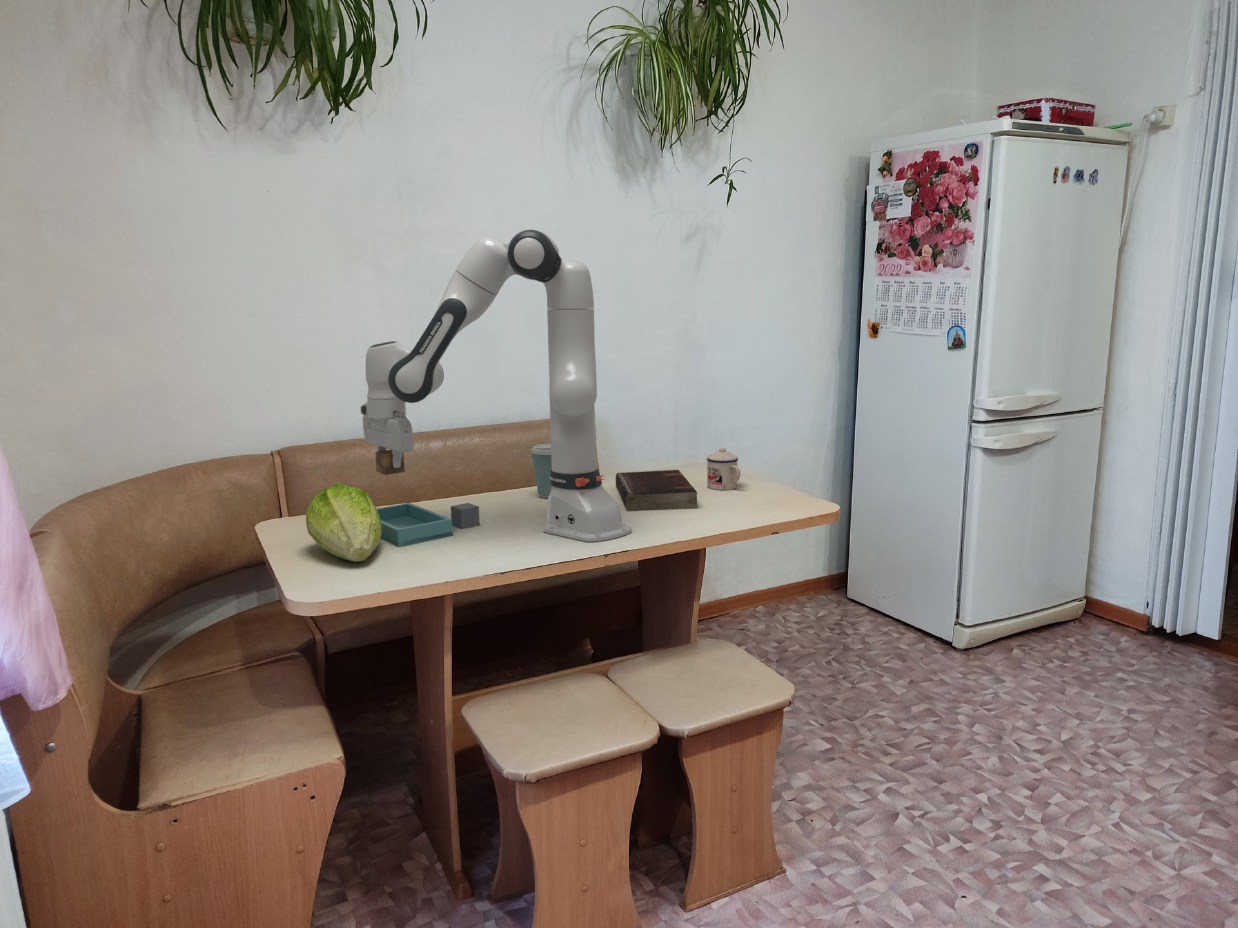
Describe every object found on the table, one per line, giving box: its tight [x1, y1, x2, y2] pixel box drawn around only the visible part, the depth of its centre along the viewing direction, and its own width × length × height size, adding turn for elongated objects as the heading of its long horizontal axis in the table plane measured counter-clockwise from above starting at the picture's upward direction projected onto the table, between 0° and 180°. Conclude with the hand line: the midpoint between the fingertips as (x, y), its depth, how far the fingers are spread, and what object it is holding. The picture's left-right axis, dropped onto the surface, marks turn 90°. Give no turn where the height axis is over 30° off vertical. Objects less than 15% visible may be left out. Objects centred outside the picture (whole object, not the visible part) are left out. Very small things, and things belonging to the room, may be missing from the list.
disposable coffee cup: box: [530, 442, 552, 499], centre depth 245 cm, size 11×11×15 cm
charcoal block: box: [450, 502, 481, 530], centre depth 216 cm, size 5×5×5 cm
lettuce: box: [305, 483, 382, 562], centre depth 194 cm, size 15×24×16 cm
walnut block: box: [374, 449, 405, 476], centre depth 213 cm, size 5×5×5 cm
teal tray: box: [377, 502, 454, 548], centre depth 211 cm, size 22×14×4 cm, turn 40°
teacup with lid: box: [706, 447, 741, 491], centre depth 252 cm, size 12×9×12 cm
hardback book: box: [615, 469, 698, 512], centre depth 243 cm, size 29×19×5 cm, turn 6°
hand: (390, 465), depth 213 cm, fingers closed on walnut block, 5 cm apart
